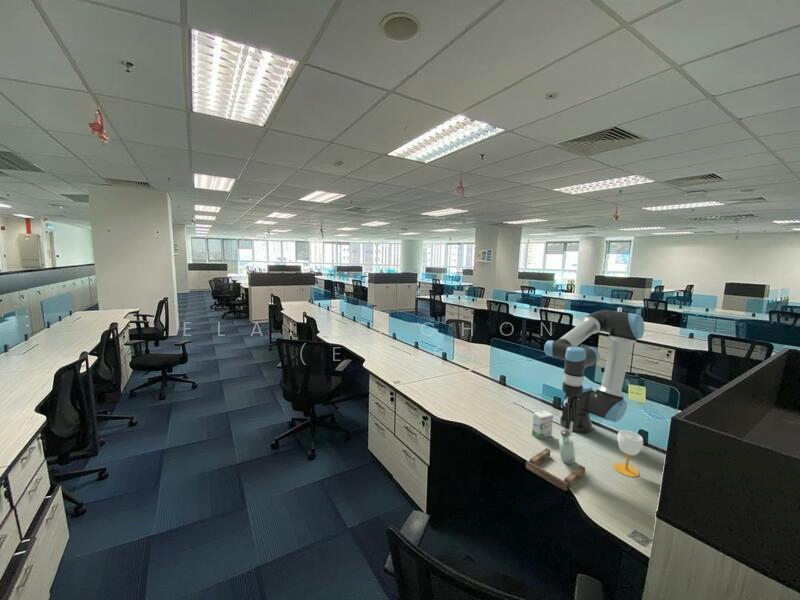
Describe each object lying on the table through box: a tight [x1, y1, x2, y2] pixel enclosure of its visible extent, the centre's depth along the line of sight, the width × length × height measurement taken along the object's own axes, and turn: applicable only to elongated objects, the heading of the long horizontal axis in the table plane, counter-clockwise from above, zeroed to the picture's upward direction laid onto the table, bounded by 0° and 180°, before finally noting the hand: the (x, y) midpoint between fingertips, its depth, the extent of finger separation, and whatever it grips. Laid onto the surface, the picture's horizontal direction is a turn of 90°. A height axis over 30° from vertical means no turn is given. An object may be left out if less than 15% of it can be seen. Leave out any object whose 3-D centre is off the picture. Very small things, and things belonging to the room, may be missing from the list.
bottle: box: [558, 429, 576, 465], centre depth 141 cm, size 6×6×16 cm
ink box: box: [531, 410, 554, 440], centre depth 163 cm, size 8×5×12 cm, turn 111°
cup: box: [613, 429, 644, 478], centre depth 137 cm, size 9×9×16 cm
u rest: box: [525, 447, 586, 492], centre depth 137 cm, size 17×17×3 cm
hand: (567, 434), depth 140 cm, fingers closed
